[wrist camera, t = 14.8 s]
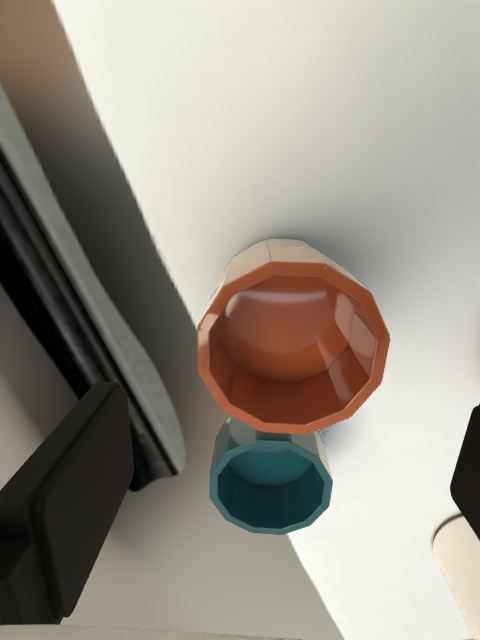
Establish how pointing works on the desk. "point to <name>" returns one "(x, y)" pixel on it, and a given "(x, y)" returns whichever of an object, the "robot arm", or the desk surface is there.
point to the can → (461, 568)
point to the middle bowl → (291, 342)
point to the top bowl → (269, 478)
